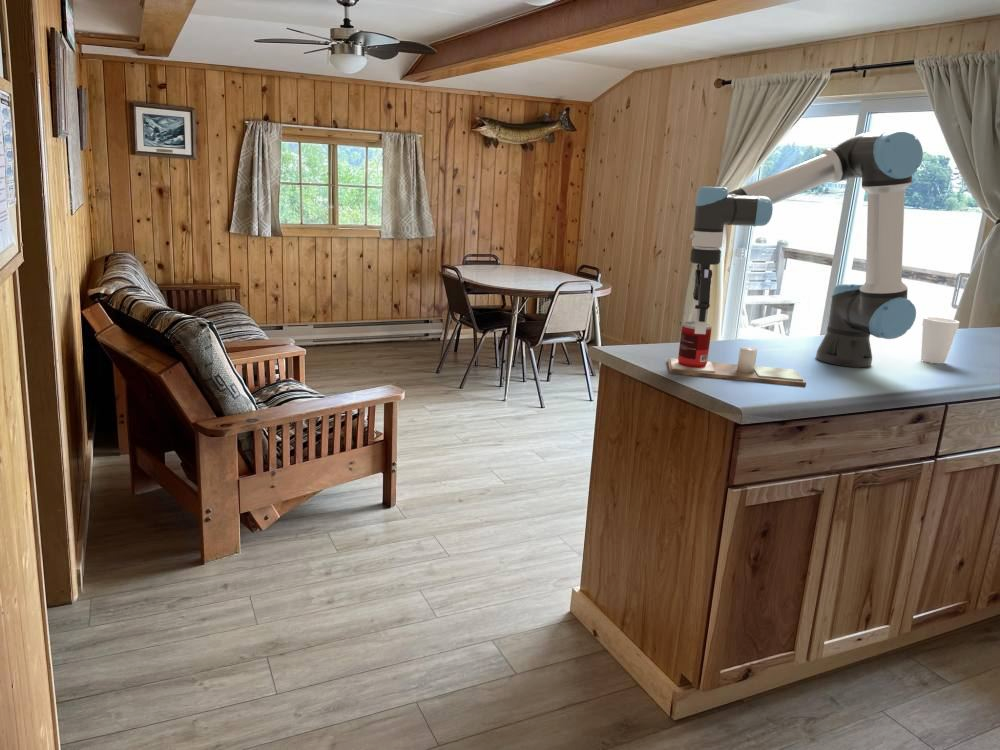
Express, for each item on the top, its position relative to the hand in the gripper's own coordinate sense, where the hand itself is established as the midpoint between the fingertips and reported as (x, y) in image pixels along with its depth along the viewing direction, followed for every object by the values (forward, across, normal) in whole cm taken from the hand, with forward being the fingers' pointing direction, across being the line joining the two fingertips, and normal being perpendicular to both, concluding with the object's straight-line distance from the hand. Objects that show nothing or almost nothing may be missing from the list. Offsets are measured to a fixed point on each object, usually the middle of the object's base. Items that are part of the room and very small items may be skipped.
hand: (697, 328), depth 198 cm
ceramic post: (+11, 0, +13) cm, 18 cm away
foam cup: (+13, -41, +74) cm, 86 cm away
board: (+11, 0, +10) cm, 15 cm away
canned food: (+10, 0, -1) cm, 10 cm away
